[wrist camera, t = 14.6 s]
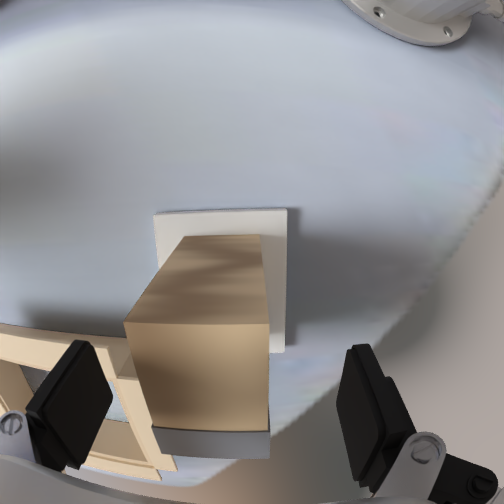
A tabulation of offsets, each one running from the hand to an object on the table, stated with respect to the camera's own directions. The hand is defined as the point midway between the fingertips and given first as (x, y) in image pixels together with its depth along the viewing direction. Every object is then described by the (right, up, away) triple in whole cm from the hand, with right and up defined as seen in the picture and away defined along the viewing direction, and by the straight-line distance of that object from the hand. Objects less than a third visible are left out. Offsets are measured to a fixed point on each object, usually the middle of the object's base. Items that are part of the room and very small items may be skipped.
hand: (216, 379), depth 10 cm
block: (-1, +2, +9) cm, 10 cm away
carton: (-15, -8, +13) cm, 22 cm away
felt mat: (-1, +2, +10) cm, 10 cm away
